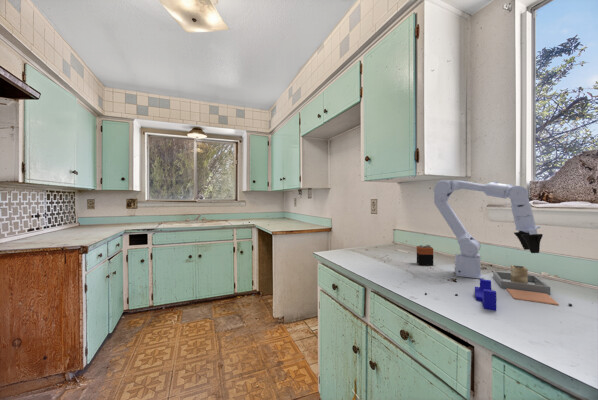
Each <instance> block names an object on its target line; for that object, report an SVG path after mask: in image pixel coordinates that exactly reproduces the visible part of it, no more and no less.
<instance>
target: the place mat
mask: <svg viewBox="0 0 598 400" xmlns="http://www.w3.org/2000/svg"><path fill="white" fill-rule="evenodd" d="M505 289H506V291H507V292H508V293H509V295H510V296H511V297H512V298H513V299H514V300H520V301H527V302H535V303H539V304H540V303H541V304H548V305H554V306H559V305H560V304H559V302H557V301H556V300H555V299H554V298H552V297H551V296H550V294H545V293H538V292H530V291H522V290H515V289H507V288H505Z"/></svg>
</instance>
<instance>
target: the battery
mask: <svg viewBox="0 0 598 400" xmlns="http://www.w3.org/2000/svg"><path fill="white" fill-rule="evenodd" d="M416 264H418V265H419V266H422V267H423V266H428V267H429V266H430V267H431V266H434V248H433V247H432V246H431V245H430V244H425V245H422V244H420V245H417V246H416Z"/></svg>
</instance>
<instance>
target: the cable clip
mask: <svg viewBox="0 0 598 400" xmlns="http://www.w3.org/2000/svg"><path fill="white" fill-rule="evenodd" d="M474 296H475V297H474V298H475V300H476V301H478V302H482V303H481V304H482V307H483V309H484V310H489V311H494V312H497V291H496V290H494V289H493V290H492V281H491V279H484V278H483V279H479V286H474Z"/></svg>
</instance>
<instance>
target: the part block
mask: <svg viewBox="0 0 598 400" xmlns="http://www.w3.org/2000/svg"><path fill="white" fill-rule="evenodd" d="M528 270H529V269H528V268H526V267H525V266H523V265H513V264H510V273H511V279H510V282H516V283H525V284H529V283H528V282H529V281H528V275H529V274H528Z"/></svg>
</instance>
